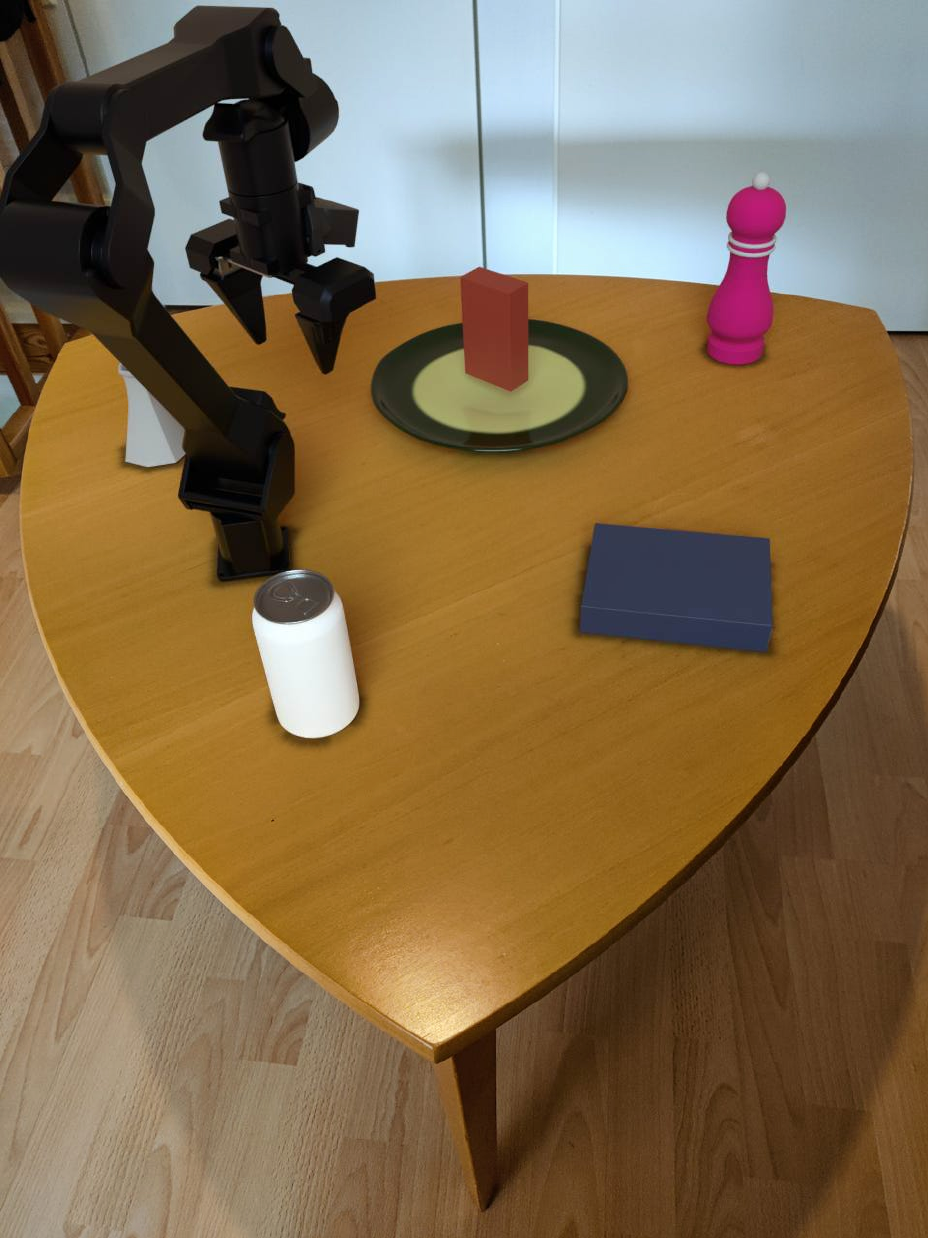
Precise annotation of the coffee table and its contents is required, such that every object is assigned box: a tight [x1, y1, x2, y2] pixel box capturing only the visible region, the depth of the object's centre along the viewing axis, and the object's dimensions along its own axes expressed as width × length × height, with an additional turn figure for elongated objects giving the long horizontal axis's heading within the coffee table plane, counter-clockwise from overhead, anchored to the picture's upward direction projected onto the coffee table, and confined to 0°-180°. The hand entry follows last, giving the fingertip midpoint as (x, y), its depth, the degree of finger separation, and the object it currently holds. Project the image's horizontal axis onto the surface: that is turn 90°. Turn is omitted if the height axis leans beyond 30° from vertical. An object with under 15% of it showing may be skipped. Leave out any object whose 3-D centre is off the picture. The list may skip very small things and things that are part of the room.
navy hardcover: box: [579, 522, 774, 653], centre depth 84 cm, size 15×11×3 cm
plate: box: [370, 318, 629, 453], centre depth 109 cm, size 28×28×2 cm
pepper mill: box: [706, 171, 787, 366], centre depth 108 cm, size 7×7×20 cm
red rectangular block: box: [459, 266, 529, 392], centre depth 104 cm, size 3×6×11 cm, turn 49°
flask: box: [117, 362, 186, 468], centre depth 102 cm, size 7×7×10 cm
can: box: [251, 568, 360, 739], centre depth 73 cm, size 6×6×12 cm
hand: (293, 357), depth 92 cm, fingers open, 9 cm apart
